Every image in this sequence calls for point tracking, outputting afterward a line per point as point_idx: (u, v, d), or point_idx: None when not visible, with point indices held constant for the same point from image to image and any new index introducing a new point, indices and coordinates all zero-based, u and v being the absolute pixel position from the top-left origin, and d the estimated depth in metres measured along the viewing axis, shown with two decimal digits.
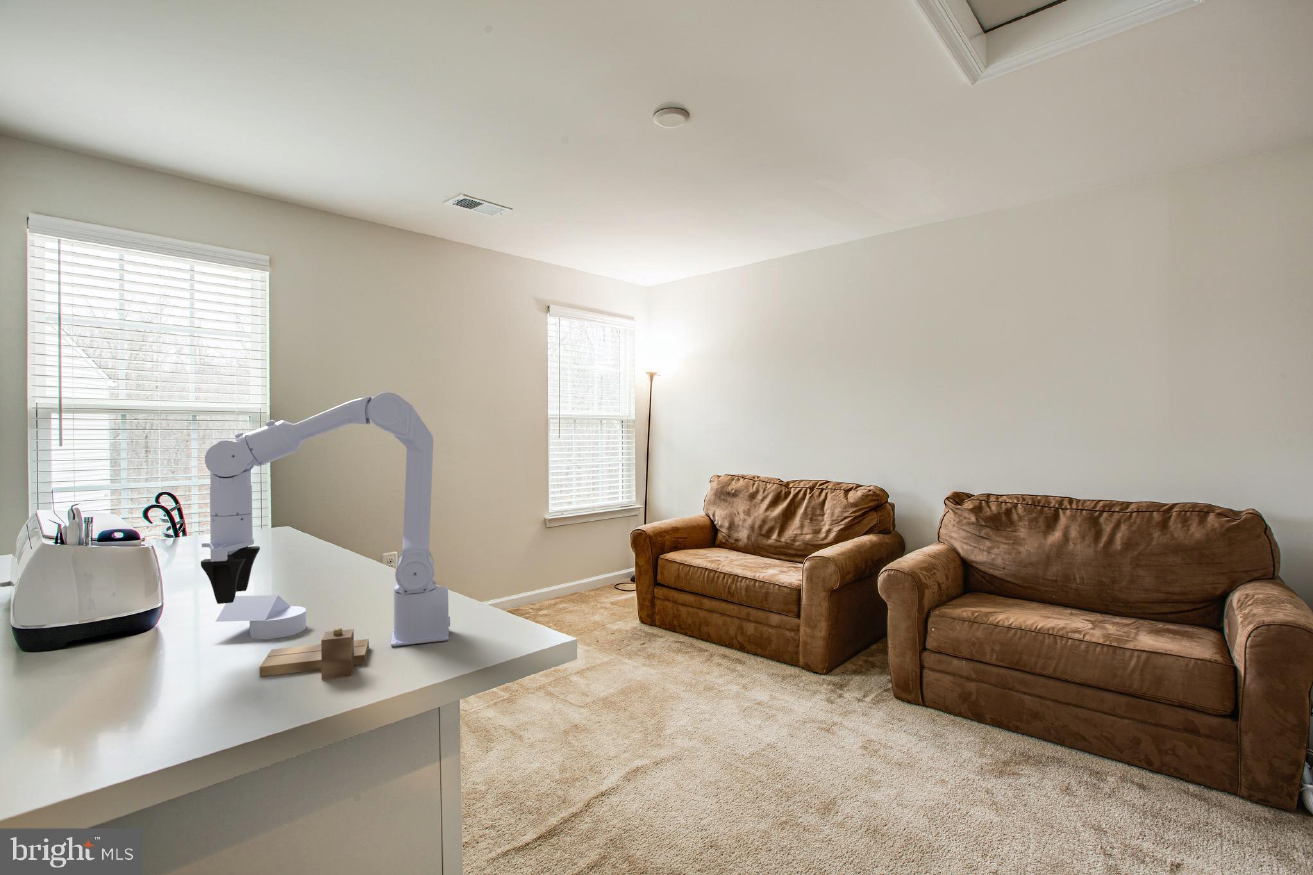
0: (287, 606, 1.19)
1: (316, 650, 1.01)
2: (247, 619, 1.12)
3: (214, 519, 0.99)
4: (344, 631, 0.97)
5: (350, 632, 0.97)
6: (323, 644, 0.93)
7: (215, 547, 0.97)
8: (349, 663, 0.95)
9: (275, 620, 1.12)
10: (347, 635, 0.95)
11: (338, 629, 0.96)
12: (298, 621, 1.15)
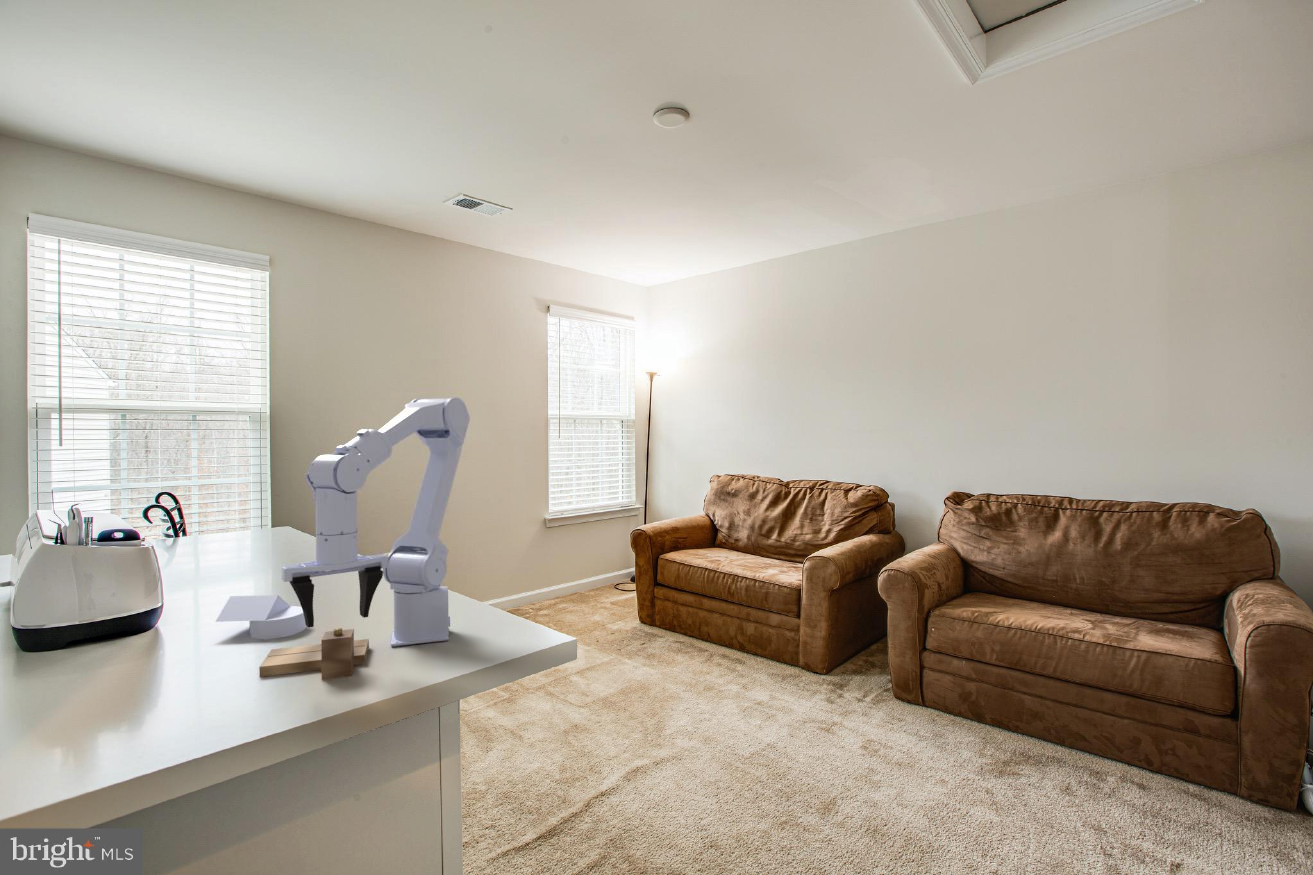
0: (287, 606, 1.19)
1: (316, 650, 1.01)
2: (247, 619, 1.12)
3: None
4: (344, 631, 0.97)
5: (350, 632, 0.97)
6: (323, 644, 0.93)
7: (300, 565, 0.93)
8: (349, 663, 0.95)
9: (275, 620, 1.12)
10: (347, 635, 0.95)
11: (338, 629, 0.96)
12: (298, 621, 1.15)
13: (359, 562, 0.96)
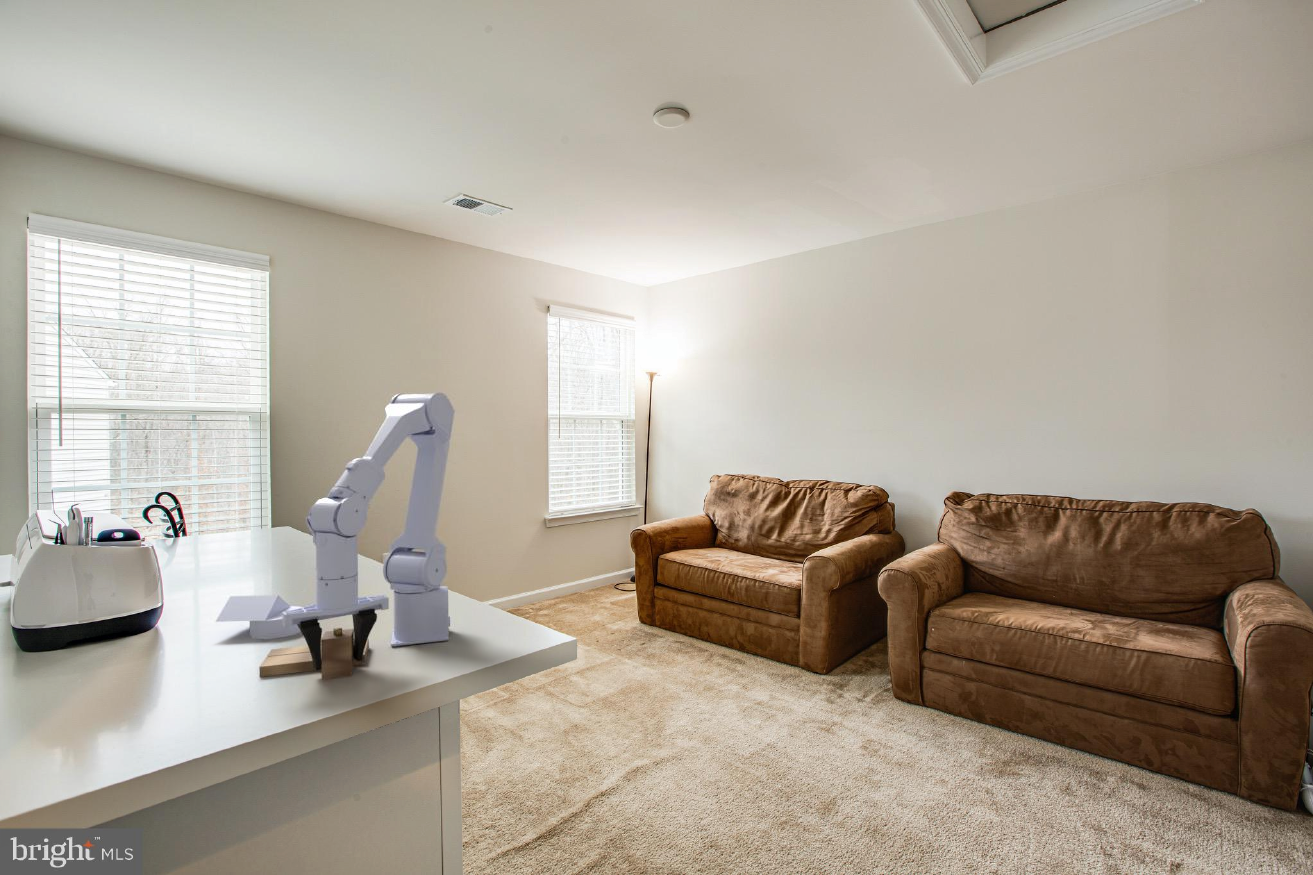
0: (287, 606, 1.19)
1: None
2: (247, 619, 1.12)
3: None
4: (344, 631, 0.97)
5: (350, 632, 0.97)
6: (323, 644, 0.93)
7: (301, 609, 0.94)
8: (349, 663, 0.95)
9: (275, 620, 1.12)
10: (347, 635, 0.95)
11: (338, 629, 0.96)
12: None
13: (359, 605, 0.96)
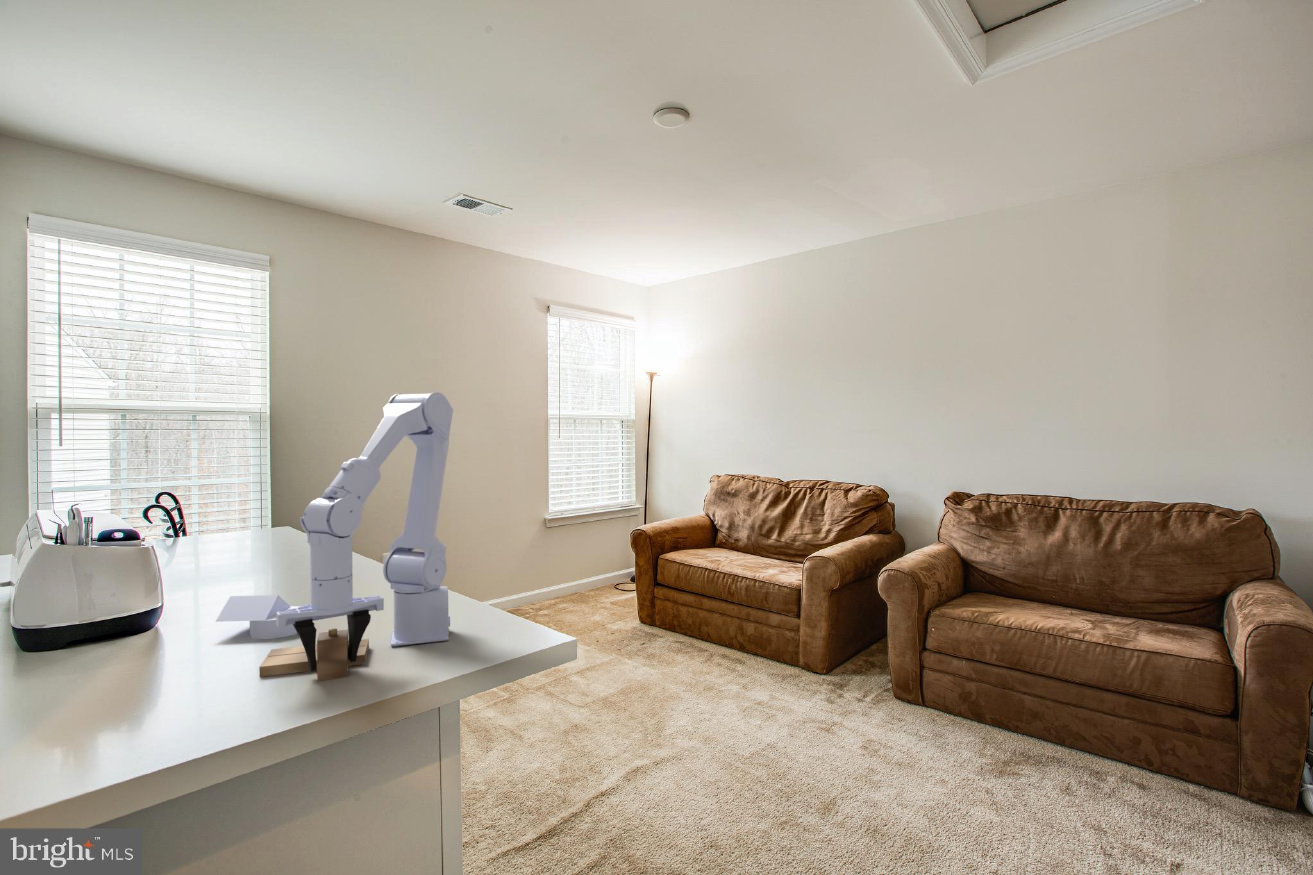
0: (287, 606, 1.19)
1: (316, 650, 1.01)
2: (247, 619, 1.12)
3: None
4: (339, 632, 0.97)
5: (345, 632, 0.96)
6: (319, 645, 0.93)
7: (295, 609, 0.93)
8: (345, 663, 0.94)
9: (275, 620, 1.12)
10: (343, 636, 0.95)
11: (333, 630, 0.95)
12: None
13: (354, 606, 0.95)
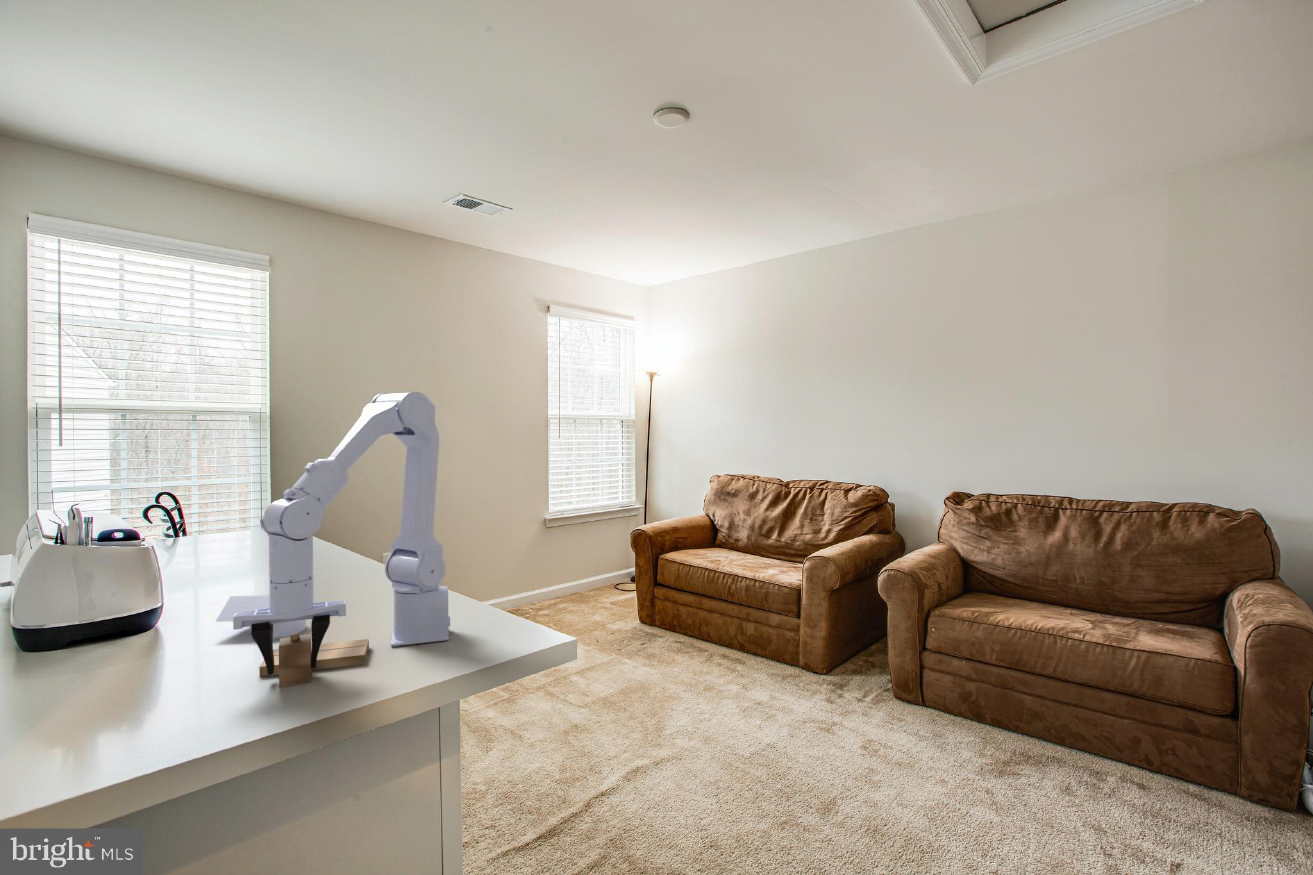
0: None
1: None
2: None
3: None
4: (301, 637, 0.94)
5: (308, 637, 0.94)
6: (281, 650, 0.91)
7: (255, 611, 0.92)
8: (308, 669, 0.92)
9: None
10: (306, 641, 0.93)
11: (295, 634, 0.93)
12: (298, 621, 1.15)
13: (311, 611, 0.93)
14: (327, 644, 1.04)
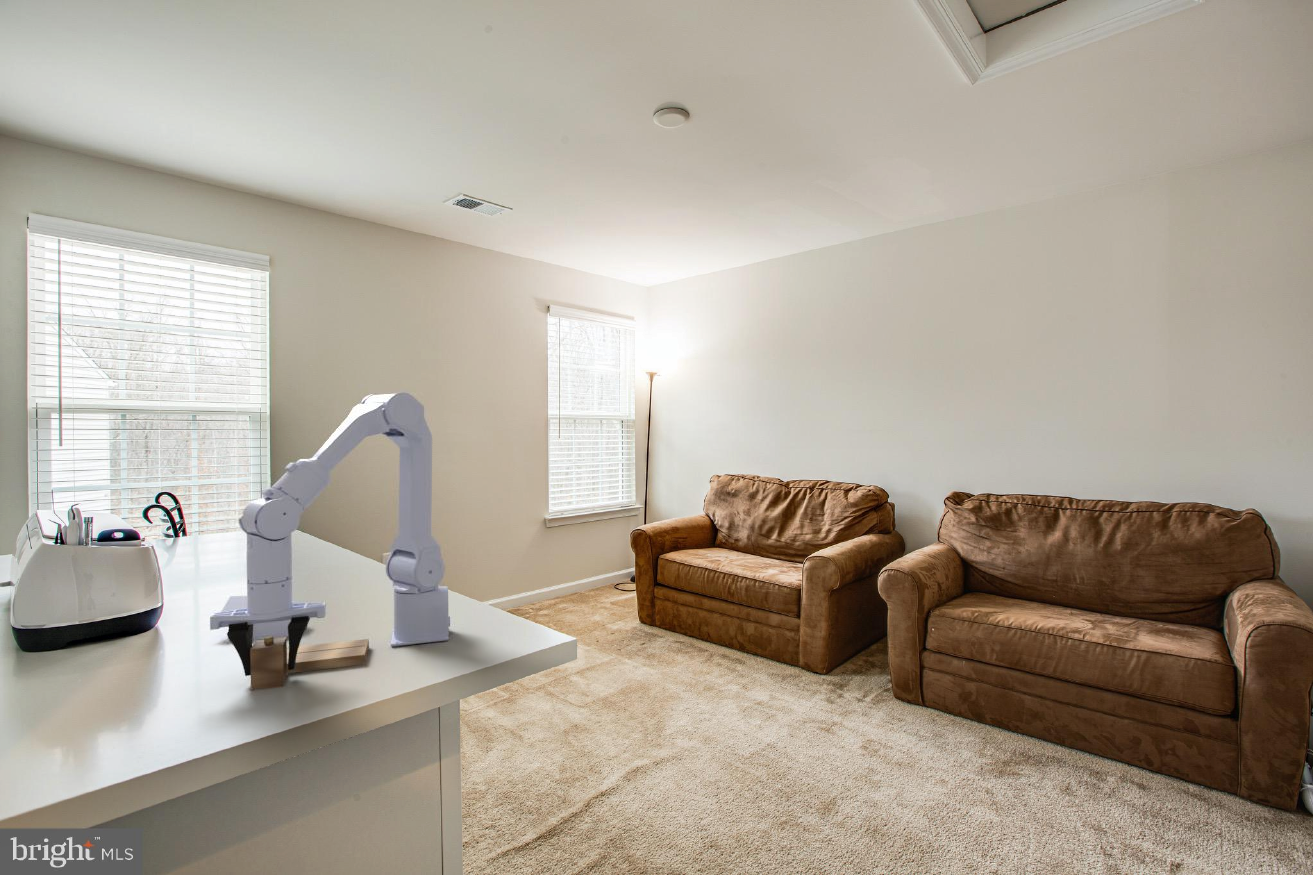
0: None
1: (316, 650, 1.01)
2: None
3: None
4: (276, 640, 0.93)
5: (282, 640, 0.93)
6: (252, 654, 0.89)
7: (233, 612, 0.92)
8: (281, 673, 0.91)
9: None
10: (278, 644, 0.91)
11: (269, 638, 0.92)
12: None
13: (288, 612, 0.92)
14: (327, 644, 1.04)
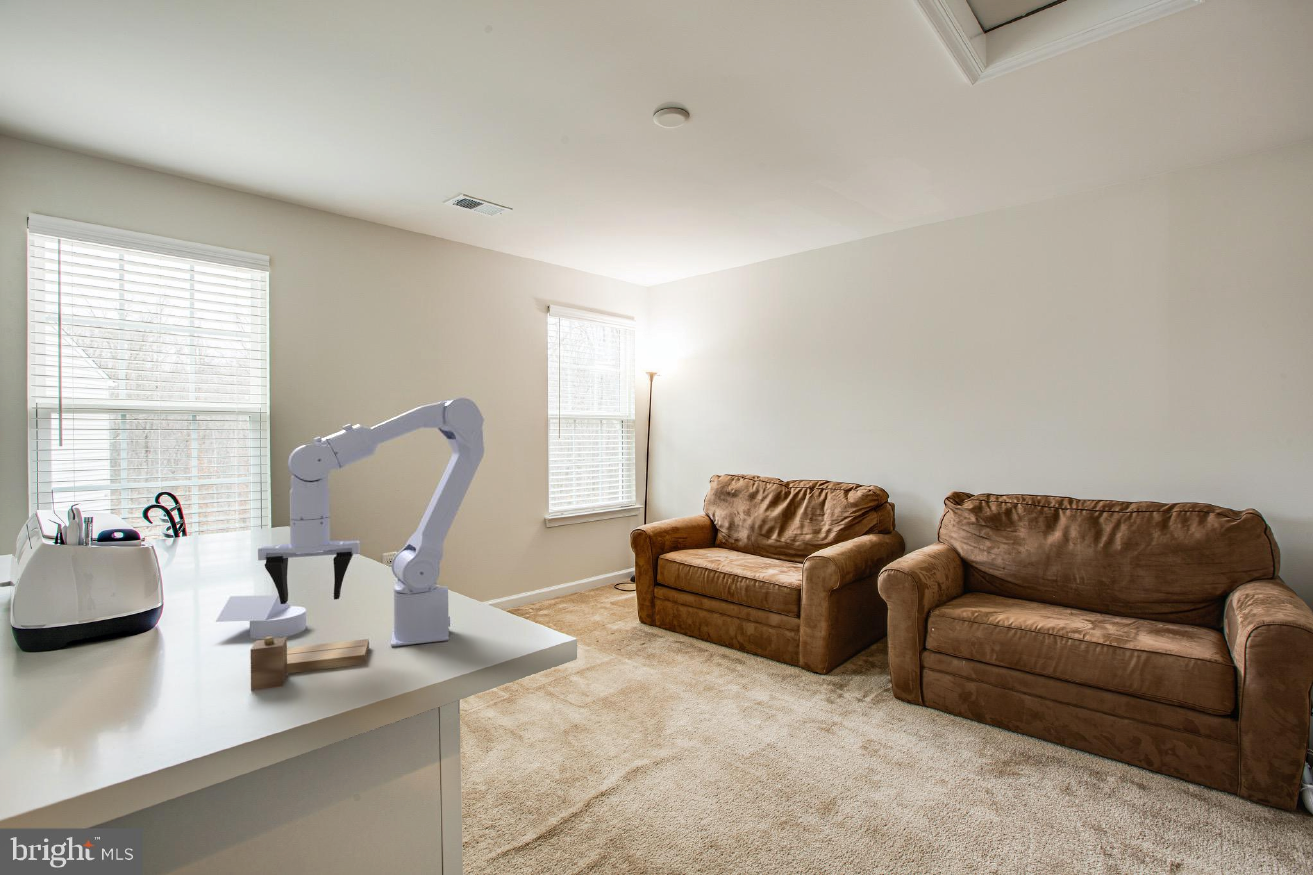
0: (287, 606, 1.19)
1: (316, 650, 1.01)
2: (247, 619, 1.12)
3: None
4: (276, 640, 0.93)
5: (282, 640, 0.93)
6: (252, 654, 0.89)
7: (278, 546, 1.02)
8: (281, 673, 0.91)
9: (275, 620, 1.12)
10: (279, 644, 0.91)
11: (269, 638, 0.92)
12: (298, 621, 1.15)
13: (326, 547, 1.01)
14: (327, 644, 1.04)
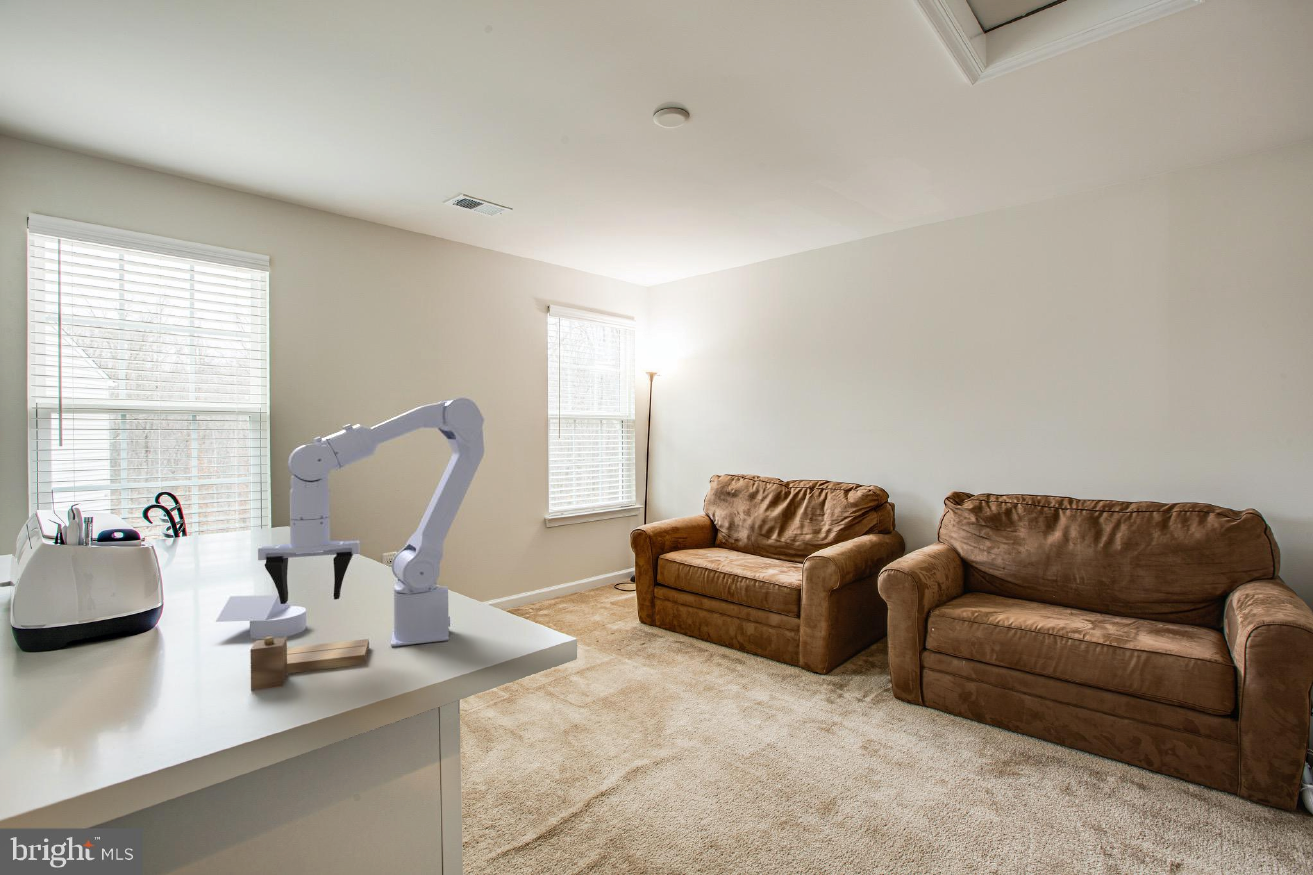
0: (287, 606, 1.19)
1: (316, 650, 1.01)
2: (247, 619, 1.12)
3: None
4: (276, 640, 0.93)
5: (282, 640, 0.93)
6: (252, 654, 0.89)
7: (278, 546, 1.02)
8: (281, 673, 0.91)
9: (275, 620, 1.12)
10: (279, 644, 0.91)
11: (269, 638, 0.92)
12: (298, 621, 1.15)
13: (326, 547, 1.01)
14: (327, 644, 1.04)
